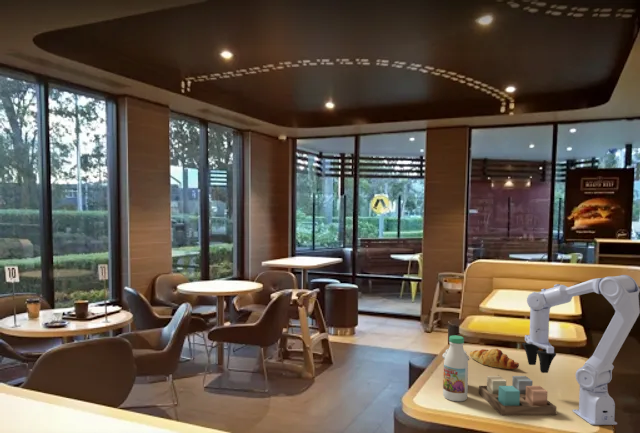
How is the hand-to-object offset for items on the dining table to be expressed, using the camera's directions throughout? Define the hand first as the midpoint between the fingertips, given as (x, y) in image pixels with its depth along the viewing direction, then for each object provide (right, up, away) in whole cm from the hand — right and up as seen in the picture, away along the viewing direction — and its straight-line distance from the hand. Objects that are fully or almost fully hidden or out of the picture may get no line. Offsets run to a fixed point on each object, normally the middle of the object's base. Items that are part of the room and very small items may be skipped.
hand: (538, 368), depth 155 cm
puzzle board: (-10, -9, -6) cm, 15 cm away
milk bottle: (-28, -9, -2) cm, 30 cm away
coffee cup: (-25, -9, +9) cm, 28 cm away
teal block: (-14, -8, -11) cm, 20 cm away
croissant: (-3, -9, +33) cm, 34 cm away
